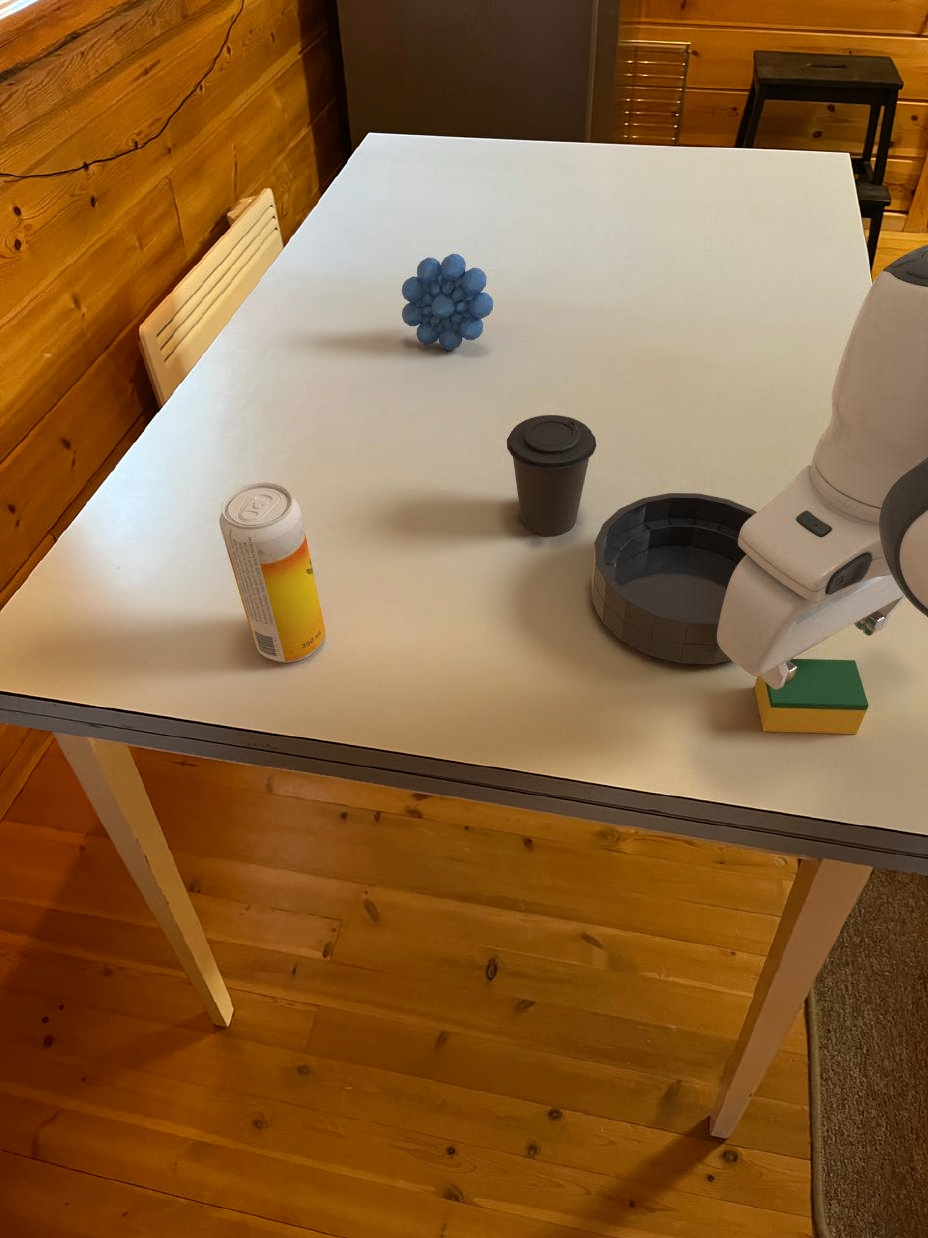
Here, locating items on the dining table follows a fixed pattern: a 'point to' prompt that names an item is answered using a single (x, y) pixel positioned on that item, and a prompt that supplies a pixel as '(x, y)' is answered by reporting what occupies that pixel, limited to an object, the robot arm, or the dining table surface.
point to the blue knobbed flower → (446, 301)
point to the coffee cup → (550, 471)
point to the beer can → (273, 570)
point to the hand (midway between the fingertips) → (822, 653)
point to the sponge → (815, 699)
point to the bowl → (668, 573)
